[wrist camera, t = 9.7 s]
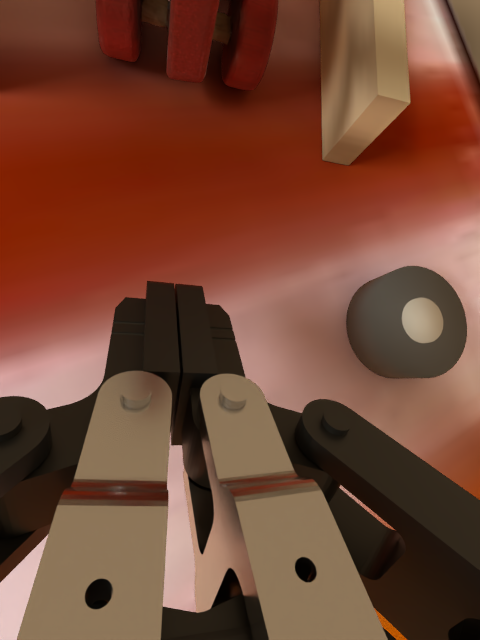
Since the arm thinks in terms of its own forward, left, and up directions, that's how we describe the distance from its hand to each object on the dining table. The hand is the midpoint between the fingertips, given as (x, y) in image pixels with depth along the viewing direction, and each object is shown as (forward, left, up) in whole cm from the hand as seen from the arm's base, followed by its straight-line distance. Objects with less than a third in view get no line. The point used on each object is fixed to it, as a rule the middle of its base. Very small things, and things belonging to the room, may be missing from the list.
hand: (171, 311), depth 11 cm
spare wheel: (+3, +11, -5) cm, 12 cm away
